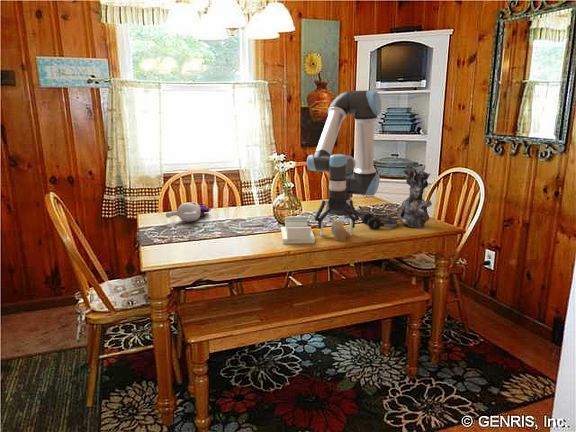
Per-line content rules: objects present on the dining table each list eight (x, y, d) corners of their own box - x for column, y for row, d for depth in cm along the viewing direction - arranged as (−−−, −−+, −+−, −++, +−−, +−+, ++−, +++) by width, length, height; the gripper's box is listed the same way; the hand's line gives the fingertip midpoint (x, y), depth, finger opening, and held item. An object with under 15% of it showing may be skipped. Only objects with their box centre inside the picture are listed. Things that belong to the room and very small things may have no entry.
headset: (355, 203, 221) (392, 206, 224) (352, 221, 223) (389, 224, 227) (364, 209, 208) (403, 212, 211) (361, 229, 210) (400, 231, 214)
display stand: (281, 230, 209) (280, 216, 207) (310, 230, 210) (310, 216, 208) (282, 243, 191) (282, 228, 189) (315, 243, 192) (315, 227, 190)
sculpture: (415, 231, 208) (420, 168, 201) (392, 223, 221) (396, 164, 213) (435, 226, 216) (441, 165, 208) (412, 219, 228) (416, 162, 220)
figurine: (220, 201, 238) (188, 203, 210) (220, 219, 239) (189, 223, 211) (195, 201, 244) (161, 203, 216) (195, 218, 245) (161, 223, 217)
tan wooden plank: (331, 231, 210) (331, 221, 208) (339, 231, 210) (340, 220, 209) (336, 241, 195) (336, 230, 194) (345, 240, 195) (345, 230, 194)
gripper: (310, 191, 193) (310, 237, 198) (366, 190, 194) (364, 236, 199) (308, 188, 200) (308, 233, 205) (363, 187, 201) (361, 232, 207)
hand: (336, 235), depth 202 cm, fingers open, 13 cm apart
